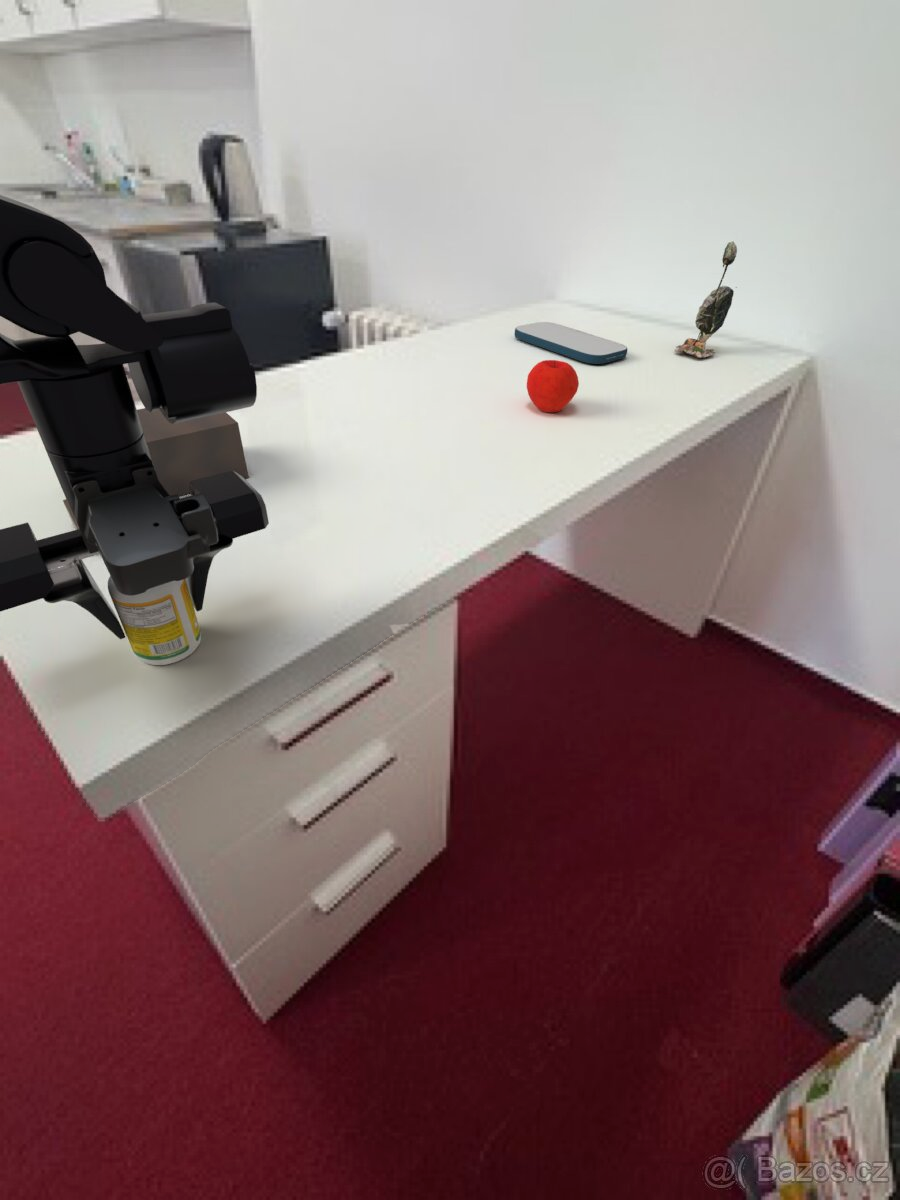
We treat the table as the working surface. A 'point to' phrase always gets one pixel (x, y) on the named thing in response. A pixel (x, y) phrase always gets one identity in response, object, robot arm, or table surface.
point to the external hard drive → (571, 342)
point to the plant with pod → (712, 312)
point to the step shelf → (190, 450)
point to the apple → (552, 385)
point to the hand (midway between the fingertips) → (160, 621)
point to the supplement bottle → (159, 622)
